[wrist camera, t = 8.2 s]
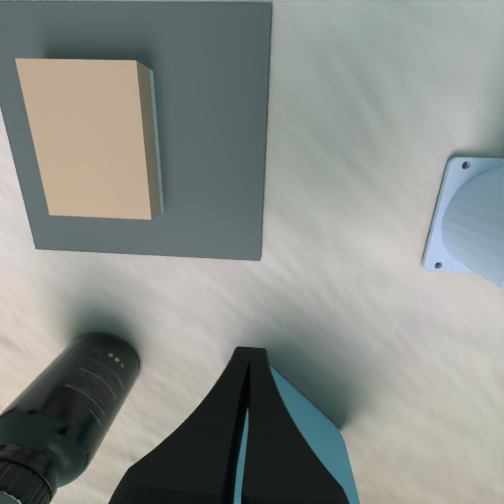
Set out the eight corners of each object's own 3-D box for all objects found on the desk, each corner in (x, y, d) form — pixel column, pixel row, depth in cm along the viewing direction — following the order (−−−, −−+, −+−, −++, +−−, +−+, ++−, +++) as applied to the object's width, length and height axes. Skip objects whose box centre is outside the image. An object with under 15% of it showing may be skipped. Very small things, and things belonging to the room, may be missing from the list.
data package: (225, 379, 27) (191, 548, 16) (260, 354, 26) (251, 518, 14) (307, 450, 29) (328, 639, 18) (343, 431, 28) (390, 620, 17)
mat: (271, 5, 17) (271, 2, 16) (260, 259, 22) (260, 260, 22) (-22, 3, 18) (-26, 1, 17) (38, 247, 23) (35, 249, 23)
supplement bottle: (111, 399, 29) (7, 563, 17) (56, 355, 27) (-97, 503, 16) (157, 365, 27) (73, 525, 16) (100, 316, 25) (-37, 454, 14)
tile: (136, 60, 16) (14, 58, 16) (151, 219, 19) (49, 215, 19) (153, 71, 18) (46, 68, 18) (164, 211, 21) (72, 207, 22)
